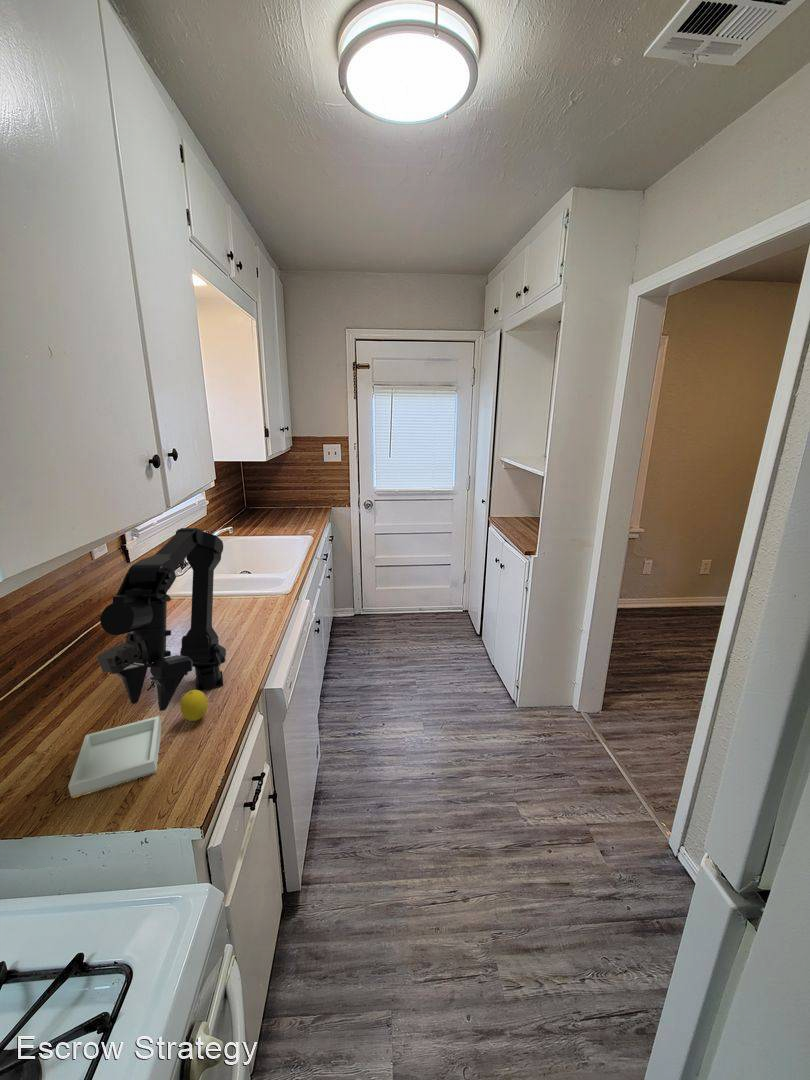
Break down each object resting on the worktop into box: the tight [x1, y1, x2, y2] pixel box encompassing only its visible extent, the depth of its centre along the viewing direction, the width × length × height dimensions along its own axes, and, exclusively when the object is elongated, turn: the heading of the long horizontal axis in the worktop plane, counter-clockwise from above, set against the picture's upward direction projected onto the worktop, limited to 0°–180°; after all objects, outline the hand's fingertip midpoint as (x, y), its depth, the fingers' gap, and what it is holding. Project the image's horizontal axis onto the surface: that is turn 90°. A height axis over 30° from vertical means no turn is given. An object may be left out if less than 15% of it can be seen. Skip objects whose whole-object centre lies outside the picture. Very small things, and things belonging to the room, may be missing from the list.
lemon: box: [180, 689, 209, 722], centre depth 96 cm, size 6×6×8 cm
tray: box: [67, 715, 162, 798], centre depth 86 cm, size 14×14×3 cm
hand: (148, 706), depth 82 cm, fingers open, 9 cm apart
